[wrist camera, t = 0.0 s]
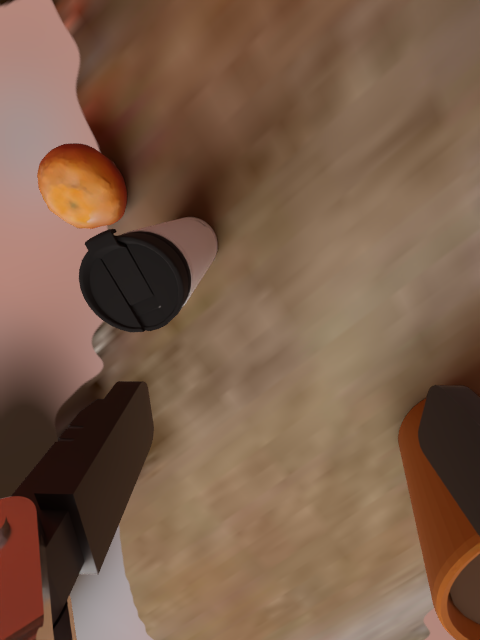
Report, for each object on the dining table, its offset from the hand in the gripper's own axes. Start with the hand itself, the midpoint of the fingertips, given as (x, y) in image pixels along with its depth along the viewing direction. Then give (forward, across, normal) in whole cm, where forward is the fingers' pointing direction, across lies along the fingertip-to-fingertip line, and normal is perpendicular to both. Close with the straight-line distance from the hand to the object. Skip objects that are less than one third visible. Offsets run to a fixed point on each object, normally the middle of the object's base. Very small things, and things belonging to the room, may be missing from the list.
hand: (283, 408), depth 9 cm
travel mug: (+30, +8, -1) cm, 31 cm away
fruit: (+30, +18, -7) cm, 35 cm away
